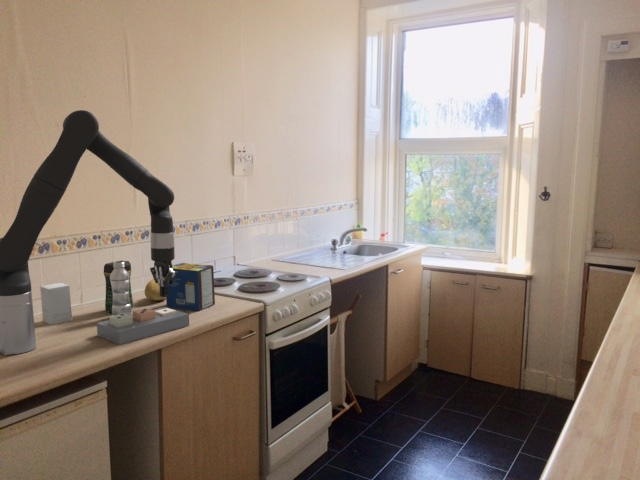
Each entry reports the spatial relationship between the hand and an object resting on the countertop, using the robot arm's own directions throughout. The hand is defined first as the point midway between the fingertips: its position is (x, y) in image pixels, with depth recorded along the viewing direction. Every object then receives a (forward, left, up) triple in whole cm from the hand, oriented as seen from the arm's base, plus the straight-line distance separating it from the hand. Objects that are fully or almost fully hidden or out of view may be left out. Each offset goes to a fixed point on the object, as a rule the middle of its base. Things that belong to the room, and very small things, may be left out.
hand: (164, 296), depth 177 cm
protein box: (+20, +14, -10) cm, 27 cm away
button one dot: (0, 0, -10) cm, 10 cm away
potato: (+17, +32, -10) cm, 38 cm away
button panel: (-8, 0, -10) cm, 12 cm away
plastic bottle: (-5, +20, -10) cm, 23 cm away
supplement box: (-22, +33, -10) cm, 41 cm away
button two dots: (-16, 0, -8) cm, 18 cm away
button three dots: (-8, 0, -8) cm, 11 cm away
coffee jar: (-1, +29, -10) cm, 31 cm away
